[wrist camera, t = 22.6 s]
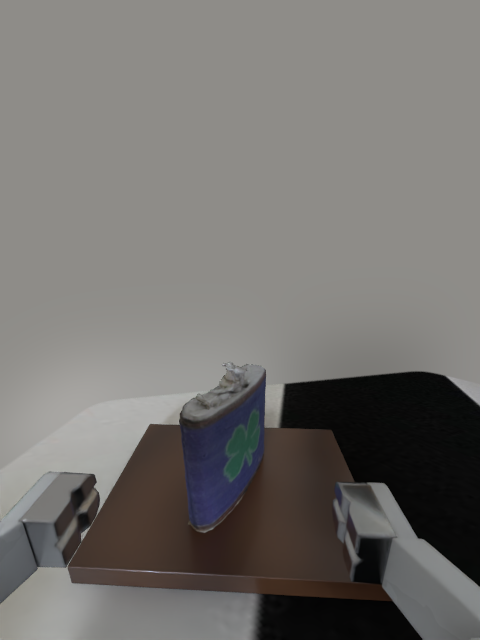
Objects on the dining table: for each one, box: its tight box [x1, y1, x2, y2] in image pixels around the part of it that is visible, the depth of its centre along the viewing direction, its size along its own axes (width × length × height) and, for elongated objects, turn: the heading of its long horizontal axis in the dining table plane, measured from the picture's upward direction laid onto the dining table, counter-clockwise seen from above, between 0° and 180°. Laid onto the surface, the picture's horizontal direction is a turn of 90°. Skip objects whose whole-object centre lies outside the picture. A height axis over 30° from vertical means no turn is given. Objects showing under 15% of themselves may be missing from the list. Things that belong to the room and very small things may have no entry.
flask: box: [179, 362, 266, 533], centre depth 19 cm, size 9×3×11 cm, turn 146°
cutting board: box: [68, 424, 393, 601], centre depth 21 cm, size 20×13×2 cm, turn 88°
